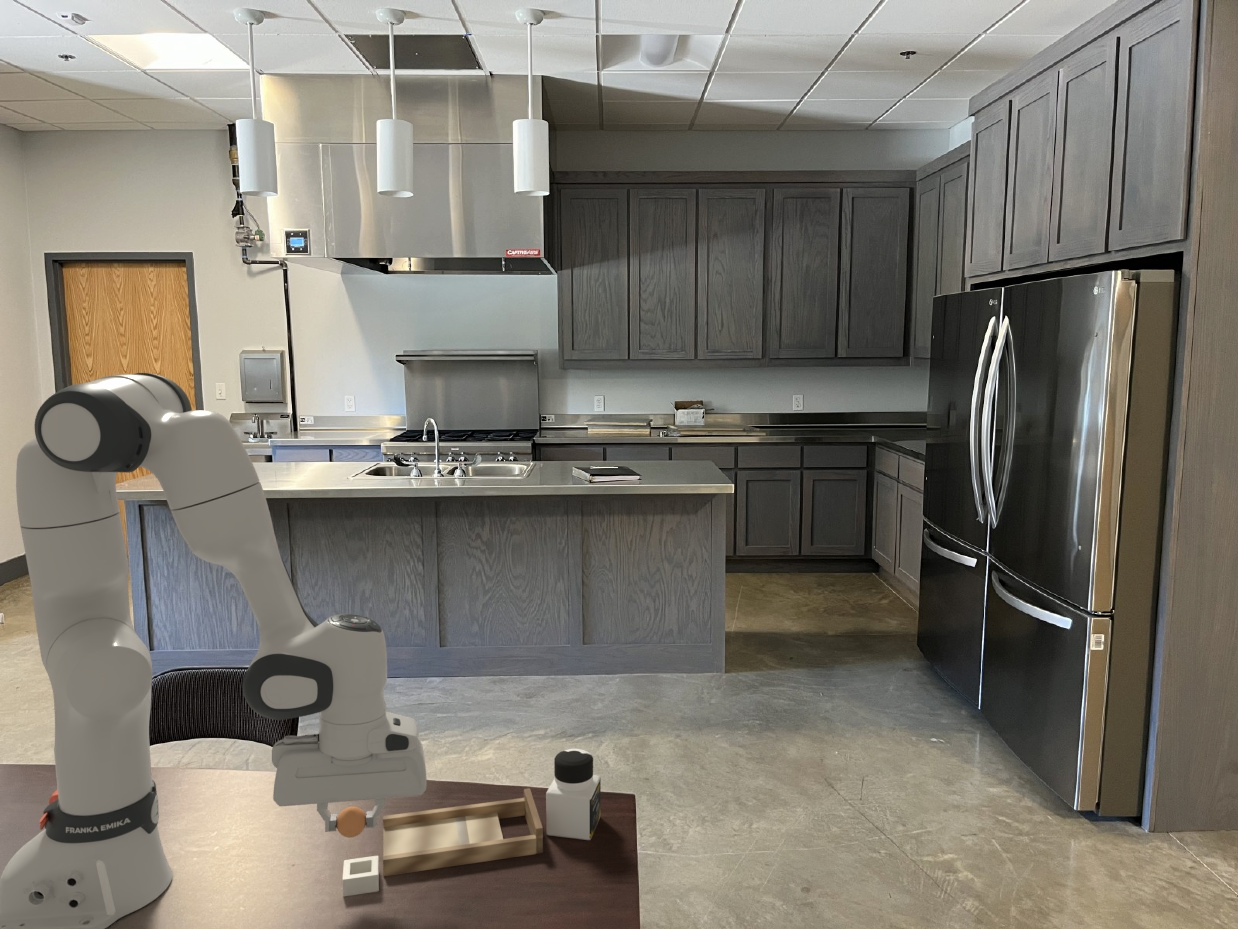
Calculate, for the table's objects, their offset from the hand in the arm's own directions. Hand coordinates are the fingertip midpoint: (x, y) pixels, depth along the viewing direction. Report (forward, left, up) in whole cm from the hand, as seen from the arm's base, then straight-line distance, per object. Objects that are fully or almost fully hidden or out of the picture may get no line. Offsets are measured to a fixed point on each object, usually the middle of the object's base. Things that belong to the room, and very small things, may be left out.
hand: (351, 828), depth 121 cm
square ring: (+1, 0, -9) cm, 9 cm away
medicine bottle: (+33, +7, -9) cm, 35 cm away
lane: (+15, +7, -9) cm, 19 cm away
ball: (0, 0, +1) cm, 1 cm away
